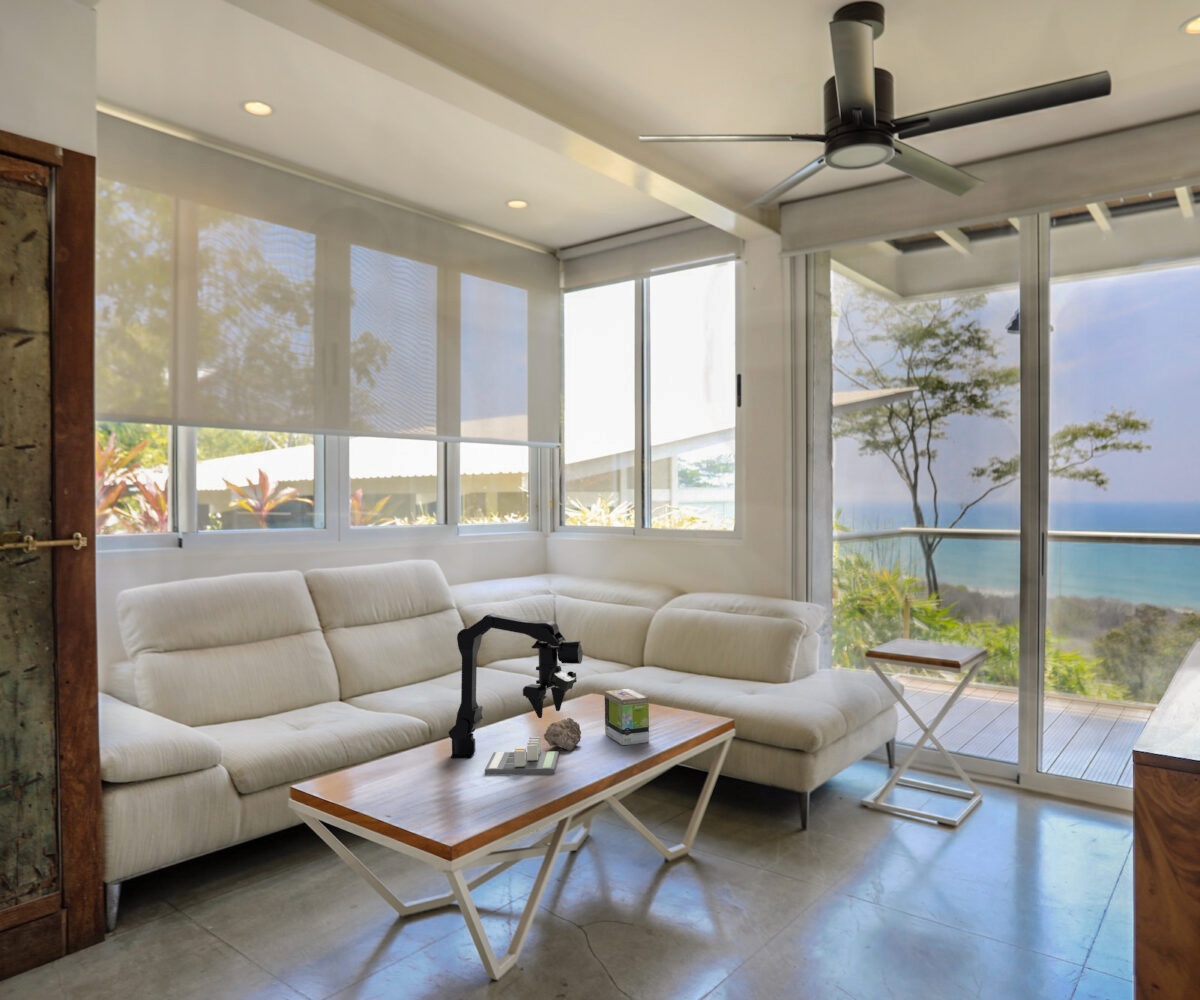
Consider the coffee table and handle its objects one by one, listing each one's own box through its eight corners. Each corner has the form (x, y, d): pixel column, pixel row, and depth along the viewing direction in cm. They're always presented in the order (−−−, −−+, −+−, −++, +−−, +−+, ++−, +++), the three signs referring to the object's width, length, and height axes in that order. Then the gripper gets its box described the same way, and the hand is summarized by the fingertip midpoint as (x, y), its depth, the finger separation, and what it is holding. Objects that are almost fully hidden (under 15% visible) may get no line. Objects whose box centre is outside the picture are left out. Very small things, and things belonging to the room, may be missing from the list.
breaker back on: (529, 754, 248) (529, 739, 248) (530, 751, 251) (530, 736, 251) (539, 754, 248) (538, 739, 248) (540, 751, 251) (540, 736, 251)
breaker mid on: (527, 760, 242) (526, 744, 242) (528, 757, 245) (528, 741, 245) (537, 760, 242) (537, 744, 242) (538, 757, 245) (538, 741, 245)
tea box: (650, 742, 264) (649, 696, 264) (621, 746, 261) (620, 699, 261) (631, 730, 278) (630, 687, 278) (604, 734, 275) (603, 690, 275)
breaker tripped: (514, 766, 237) (514, 750, 237) (516, 763, 240) (515, 747, 240) (525, 766, 237) (524, 750, 237) (526, 763, 240) (525, 747, 240)
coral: (564, 755, 253) (552, 725, 254) (545, 760, 258) (533, 731, 259) (592, 737, 263) (580, 708, 264) (573, 743, 269) (561, 714, 270)
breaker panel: (484, 774, 236) (484, 768, 236) (493, 757, 252) (493, 751, 252) (554, 773, 236) (554, 768, 236) (558, 756, 252) (558, 751, 252)
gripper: (551, 671, 237) (552, 725, 237) (587, 659, 252) (588, 710, 252) (521, 667, 243) (522, 720, 243) (557, 656, 258) (558, 706, 258)
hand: (549, 714), depth 249 cm, fingers open, 9 cm apart
